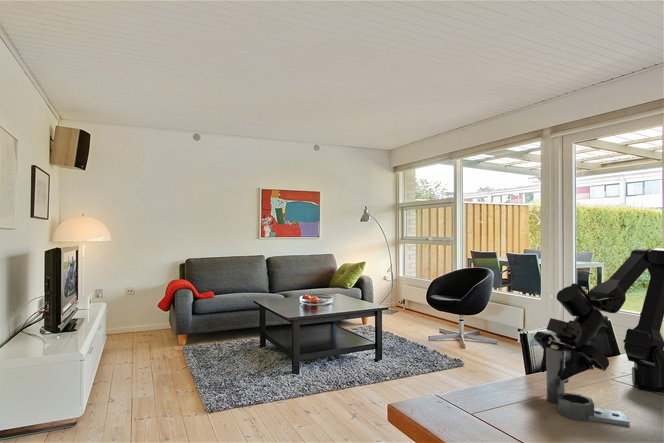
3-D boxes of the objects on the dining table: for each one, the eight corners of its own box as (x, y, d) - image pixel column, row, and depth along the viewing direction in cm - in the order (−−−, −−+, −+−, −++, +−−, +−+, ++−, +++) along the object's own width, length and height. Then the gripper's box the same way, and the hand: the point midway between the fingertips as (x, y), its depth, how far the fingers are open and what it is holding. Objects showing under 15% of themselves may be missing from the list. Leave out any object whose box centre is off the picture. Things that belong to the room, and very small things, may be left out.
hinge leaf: (622, 414, 99) (621, 399, 99) (630, 427, 92) (630, 411, 92) (557, 405, 104) (556, 391, 104) (560, 417, 97) (560, 402, 97)
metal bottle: (563, 399, 108) (562, 344, 108) (565, 404, 104) (564, 348, 105) (546, 396, 110) (545, 343, 110) (547, 402, 106) (546, 347, 106)
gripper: (538, 301, 118) (506, 344, 114) (599, 314, 100) (563, 365, 96) (561, 328, 120) (530, 371, 116) (624, 344, 102) (590, 396, 98)
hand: (550, 375), depth 107 cm, fingers open, 6 cm apart
